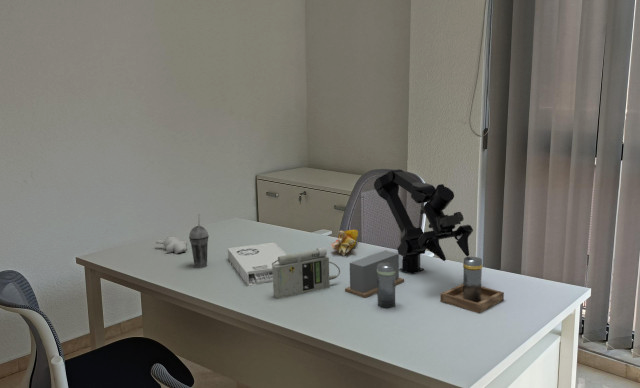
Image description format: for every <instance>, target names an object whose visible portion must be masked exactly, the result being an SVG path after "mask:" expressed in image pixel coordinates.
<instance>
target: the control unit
mask: <svg viewBox="0 0 640 388" xmlns="http://www.w3.org/2000/svg"><path fill="white" fill-rule="evenodd" d="M385 262H387V263H393V264H395V269H396V274H395V286H397V285H400V284H402V283H403V284H404V282H405V279H404V278H402V277H400V270H399V269H400V255H399V254H398V252H394V251H388V250H382V251H380V252H377V253H374V254H371V255H369V256H366V257H362V258H359V259H357V260H354V261H351V262H349V286H348V287H345V288H344V292H346V293H349V294H352V295H354V296H355V295H356V296H358V297H361V298H364V299H365V298H368V297H370V296H373V295H376V294H378V289H377V265H378V264H379V263H385Z"/></svg>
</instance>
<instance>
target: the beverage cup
mask: <svg viewBox="0 0 640 388" xmlns="http://www.w3.org/2000/svg"><path fill="white" fill-rule="evenodd" d="M197 216H198V219H197V220H198V221H197V222H198V225H197V226H193V227H192V228H191V230H190V232H189V235H188V236H189V237H188V239H189V242H190V246H191V251H192V259H193V263H194V267H195V268H196V269H203V268H206V267H208V246H209V245H208V242H209V233H208V230H207V229H206V228H205V227H203V225H202V226H201V225H200V223H201V218H200V217H201V214H198V215H197Z"/></svg>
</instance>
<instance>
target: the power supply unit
mask: <svg viewBox="0 0 640 388" xmlns="http://www.w3.org/2000/svg"><path fill="white" fill-rule="evenodd" d="M284 255H288V254H287V253H286V251H284V250H283V249H282V248H281V247H280V246H279V245H278V244H277V243H276V242H267V243H260V244H250V245H244V246H234V247H228V248H227V258H228V261H229V262H230V263H231V265H232V266H233V267H234V269H235V270H236V272H237V273H238V275H239V276H240V277H241V278H242V279H243V281H244V282H245V284H246V285H247V286H248V287H250V286H255V285H259V284H261V285H262V284H267V283H273V270H272V263H273V262H275V261H276V260H278V257H279V256H284ZM274 264H279V262H278V261H277V262H276V263H274Z"/></svg>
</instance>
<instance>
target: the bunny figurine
mask: <svg viewBox="0 0 640 388" xmlns="http://www.w3.org/2000/svg"><path fill="white" fill-rule="evenodd" d="M155 244H158V245H163V246H164V249H165V250H166V252H170V253H171V252H174V254H175V255H176V254H180V253H184V252H186V251H188V241H186V240H180V239H179V238H178V237H177V236H173V237H172V236H168V237H167V236H166V238H165V239H164V240H163V239H156V241H155Z"/></svg>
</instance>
